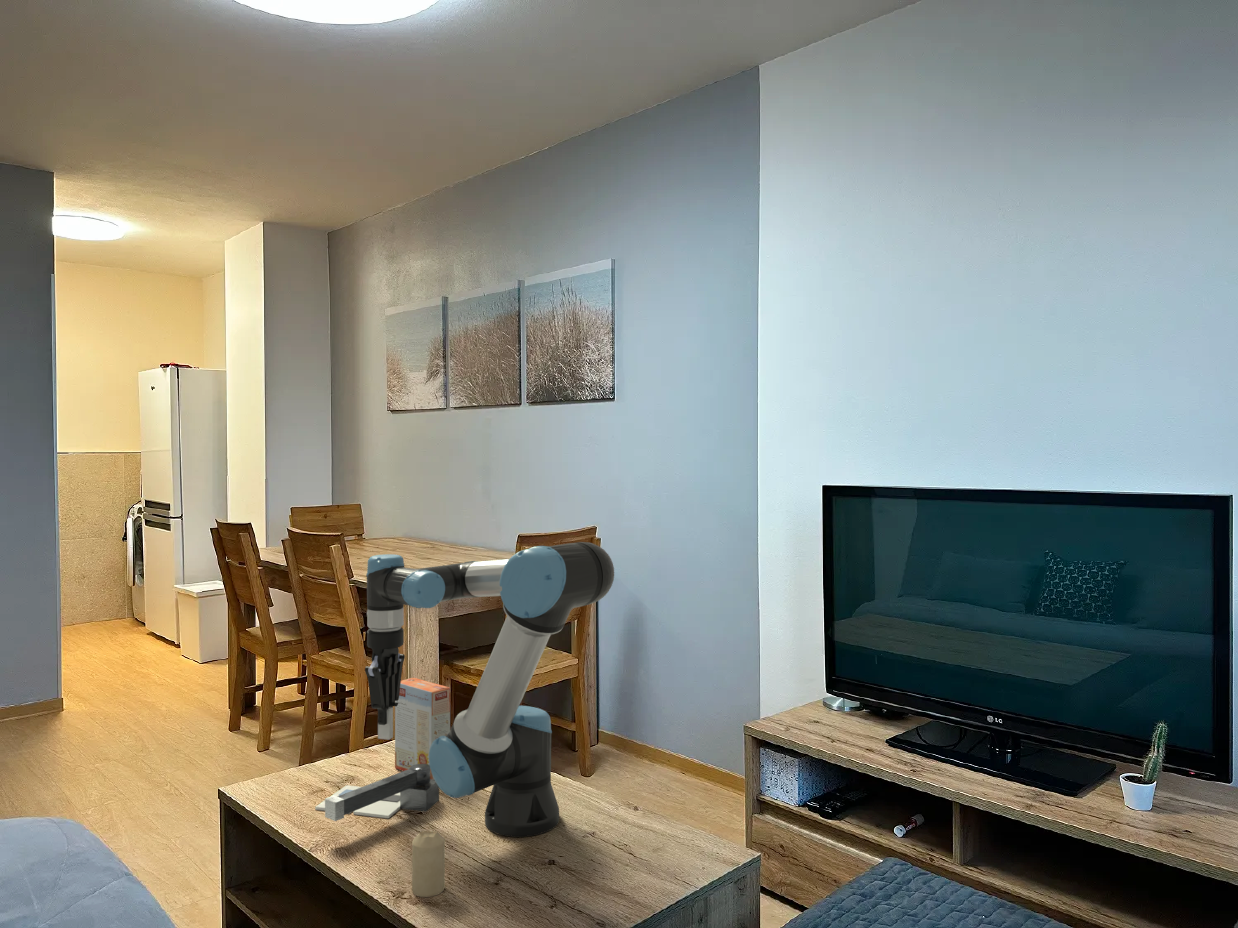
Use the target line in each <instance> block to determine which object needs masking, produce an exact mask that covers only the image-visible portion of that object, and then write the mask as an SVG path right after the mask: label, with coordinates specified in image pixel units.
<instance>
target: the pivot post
mask: <svg viewBox="0 0 1238 928" xmlns="http://www.w3.org/2000/svg"><path fill="white" fill-rule="evenodd" d="M439 801H440V788H439V786H438V785H437V783H436V782H435V780H434V779H430V782H429V783H428V784H425V785H416V786H414V787H412V788H410V789H407V790H405V791H402V792H400V809H399V810H408V811H416V812H423V813H427V812H428V811H430V809H431V808H432V807H434V806H435V805H436V804H437V803H438V802H439Z"/></svg>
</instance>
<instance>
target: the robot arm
mask: <svg viewBox="0 0 1238 928" xmlns="http://www.w3.org/2000/svg"><path fill="white" fill-rule="evenodd" d="M366 567H367V570H366V571H367V572H366V602H367V603H366V606H367V607H366V608H367V610H366V617H367V621H366V622H367V627H368V630H367V631H366V646H367V647H368V648H369V649H371V650H372V654H371V664H370V666H368V665H367V666H365V668H364V671H365V675H366V677H367V683H368V689H369V690H368V692H369V699H370V705H371V706H370V707H371V708H372V709H375V710H376V709H377V739H378V740H391V739H393V737H394V707H395V706H397V705H398V703H395V701H398V700H399V693H400V684H401V681H402V674H403V667H404V666H403V665H404V662H405V659H406V658H405V657H406V656H405V654H403V653H400V651H399V650H400V649H399V648H401V647H402V646H403V645H404V643H405V641H404V639H405V636H404V635H405V634H404V633H405V632H404V631H405V630H404V628H403V626H404V625H405V623H404V622H405V618H404V616H405V615H404V613H405V612H404V609H405V608H404V605H405V606H410V607H412V608H416V609H431V608H434V607H436V606H437V605H438V604H440V603H442V602H449V601H452V600H453V601H454V600H460V599H468V598H480V597H481V598H482V597H484V598H485V597H500V598H501V602H502V603H503V604H502V608H503V612H504V613H505V615H506V617H505V620H504V622H503V625H502V627H501V630H500V632H499V634H498V636H497V639H496V641H495V644H494V646H493V649H492V651H491V654H490V656H489V658H488V661H487V663H486V666H485V667H484V670H483V673H482V675H481V678H480V679H479V682H478V684H477V686H476V689H475V692H474V693H473V696H472V699H471V701H470V703H469V706H468V708H467V709H465V710H462V711H460V712H459V713H457V715H456V716H455V718H454V720H453V723H452V725H451V726H450V732H449V733H448V734H447V735H446V736H440V737H439V738H437V739H436V740H434V741H433V743H432V744H431V746H430V750H429V765H430V768H431V772H432V775H433V778H434V780H435V782H436V783H437V785H438V786H439V790H441V791H442V793H444V794H445V795H447V796H448V797H449V798H456V799H458V798H463V797H465V796H472V795H473V794H474V793H477V792H480V791H483V790H484V789H487V788H490V787H491V788H492V789H491V792H490V795H489V798H488V801H487V805H486V808H485V811H484V825H485V827H486V828H487V829H488V830H489V831H490V832H493V833H495V834H496V835H500V836H506V837H516V838H522V837H533V836H537V835H542V834H544V833H547V832H549V831H551V830H553V829H554V828H556V827H557V825H558V824H559V822H560V807H559V804H558V800H557V797H556V794H555V791H554V788H553V784H552V777H551V776H552V775H551V774H552V734H553V731H552V724H551V716H550V715H549V713H548V712H547V711H545V710H543V709H541V708H539V707H533V706H529V705H520V704H521V703H522V700H523V699H524V696H525V693H526V691H527V688H528V686H529V684H530V683H531V680H532V677H533V676H534V673H535V671H536V669H537V667H538V664H539V663H540V660H541V658H542V655H543V653H544V651H545V649H546V647H547V644H548V642H549V640H550V637H551V636H552V635H555V634H558V633H559V632H561V631H562V630H563V628H564V626H565V624H566V622H567V620H568V618H569V616H570V613H571V611H572V610H573V609H575V608H581V607H586V606H589V605H593V604H595V603H597V602H598V601H600V600H602V599H603V598H604V597H605V596H606V595H607V594H608V593H609V591H610V590H611V588H612V586H613V583H614V578H615V567H614V563H613V560H612V558H611V556H610V555H609V553H608V552H607V551H606V550H605V549H603V547H601V546H599V545H598V544H595V543H592V542H590V541H589V542H587V541H586V542H585V541H577V542H571V543H570V542H568V543H563V544H556V545H549V546H548V545H547V546H546V545H537V546H532V547H529V548H528V549H522V550H520V551H518V552H516V553H515V554H513V555H512V556H511V557H510V558H504V559H503V558H501V559H492V560H491V559H490V560H480V561H478V560H477V561H475V560H471V561H464V562H458V563H453V564H451V563H450V564H446V565H437V566H436V565H435V566H430V567H429V566H428V567H427V566H426V567H421V568H411V567H405V561H404V558H403V556H402V555H399V554H393V553H391V554H390V553H388V554H385V553H384V554H376V555H371V556H370V557H369V558H368V559H367V566H366Z"/></svg>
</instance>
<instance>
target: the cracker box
mask: <svg viewBox="0 0 1238 928" xmlns="http://www.w3.org/2000/svg"><path fill="white" fill-rule="evenodd" d="M395 703H398V705H397V706H394V768H395V769H396V770H398V771H400V772H402V771H405V770H408V769H409V768H410V767H411V766H412V765H416V764H428V765H429V750H430V746H431V744H432V743H433V741H434V740H436V739H437V738H439V737H440V736H446V735H447V734H448V733H449V732H450V730H451V687H449V686H445V685H442V684H439V683H435V682H431V681H427V680H424V679H420V678H417V677H409V678H406V679H401V684H400V693H399V700H398V701H395ZM430 779H434V778H433V775H432V772H431V768H430Z"/></svg>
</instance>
